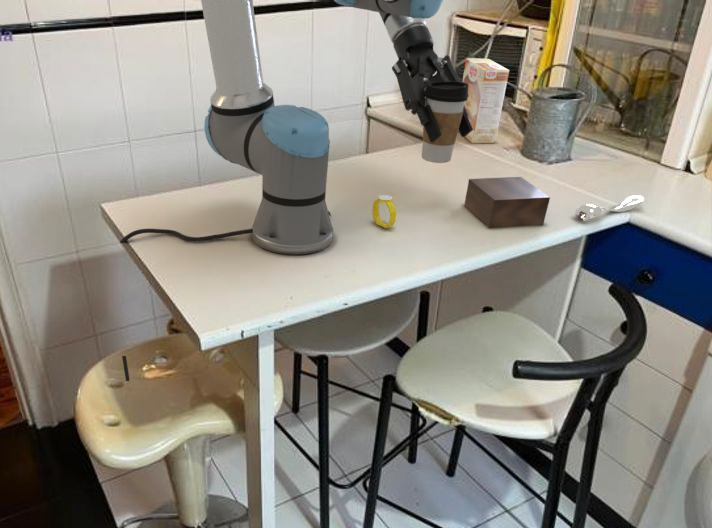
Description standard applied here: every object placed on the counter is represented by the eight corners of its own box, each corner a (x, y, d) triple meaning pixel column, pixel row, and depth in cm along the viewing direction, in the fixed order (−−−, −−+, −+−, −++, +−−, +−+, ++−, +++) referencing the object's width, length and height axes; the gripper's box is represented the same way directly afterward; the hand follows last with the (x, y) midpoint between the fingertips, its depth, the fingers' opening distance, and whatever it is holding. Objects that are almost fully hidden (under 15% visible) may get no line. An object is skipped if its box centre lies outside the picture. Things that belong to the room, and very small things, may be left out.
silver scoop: (634, 184, 144) (653, 191, 141) (629, 199, 146) (648, 206, 143) (571, 204, 136) (590, 212, 132) (568, 220, 138) (586, 228, 134)
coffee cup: (457, 167, 131) (470, 89, 123) (414, 162, 132) (425, 85, 124) (456, 154, 138) (469, 80, 130) (416, 150, 139) (426, 76, 131)
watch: (397, 230, 129) (401, 201, 126) (386, 232, 128) (389, 204, 125) (379, 219, 133) (382, 191, 130) (368, 221, 132) (370, 193, 129)
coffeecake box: (453, 127, 192) (465, 57, 182) (477, 127, 193) (489, 58, 183) (471, 143, 180) (484, 69, 169) (496, 143, 180) (510, 69, 170)
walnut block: (488, 228, 131) (494, 200, 128) (464, 205, 141) (468, 178, 138) (543, 225, 133) (550, 197, 130) (515, 202, 143) (520, 176, 140)
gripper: (436, 44, 141) (477, 139, 138) (360, 50, 131) (401, 152, 128) (458, 21, 134) (501, 120, 131) (379, 25, 125) (423, 132, 121)
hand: (452, 136), depth 129 cm, fingers closed on coffee cup, 8 cm apart
